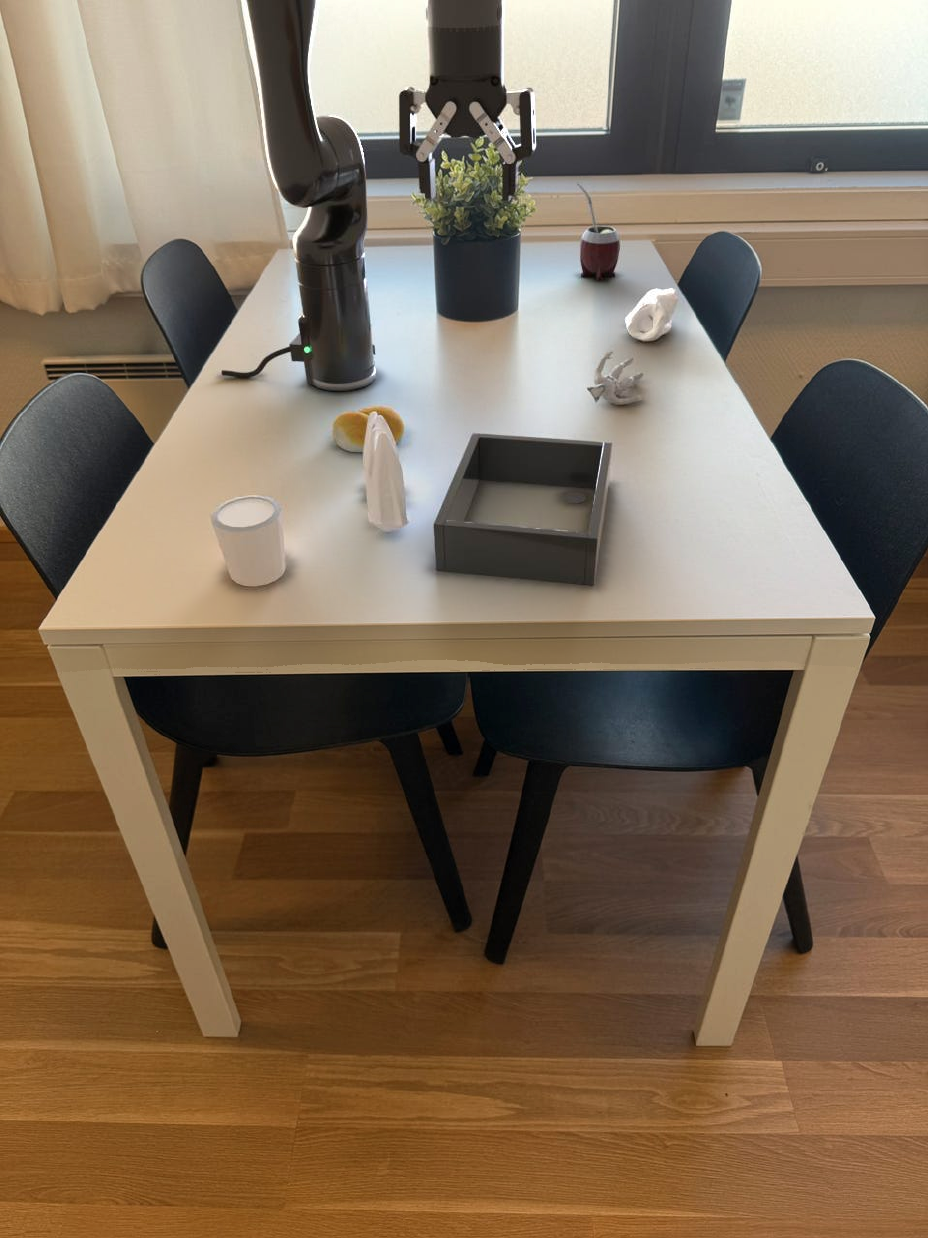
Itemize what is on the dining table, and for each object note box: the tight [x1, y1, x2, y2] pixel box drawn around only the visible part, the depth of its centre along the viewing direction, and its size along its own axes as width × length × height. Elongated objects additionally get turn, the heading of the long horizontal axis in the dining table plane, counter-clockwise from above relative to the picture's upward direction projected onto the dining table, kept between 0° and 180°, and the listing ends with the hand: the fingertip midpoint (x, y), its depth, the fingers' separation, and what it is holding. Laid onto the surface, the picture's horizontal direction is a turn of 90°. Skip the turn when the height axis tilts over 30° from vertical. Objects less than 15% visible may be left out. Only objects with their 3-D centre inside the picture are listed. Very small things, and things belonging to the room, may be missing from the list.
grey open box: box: [433, 432, 613, 586], centre depth 95 cm, size 16×20×6 cm
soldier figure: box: [586, 350, 644, 406], centre depth 121 cm, size 8×5×12 cm
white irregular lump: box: [624, 287, 679, 343], centre depth 139 cm, size 9×12×8 cm
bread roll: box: [331, 405, 405, 453], centre depth 112 cm, size 8×9×4 cm
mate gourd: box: [576, 182, 621, 282], centre depth 158 cm, size 8×8×15 cm
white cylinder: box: [210, 494, 287, 588], centre depth 89 cm, size 7×7×7 cm
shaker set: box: [362, 412, 409, 533], centre depth 96 cm, size 12×4×11 cm, turn 8°
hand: (468, 198), depth 97 cm, fingers open, 8 cm apart
